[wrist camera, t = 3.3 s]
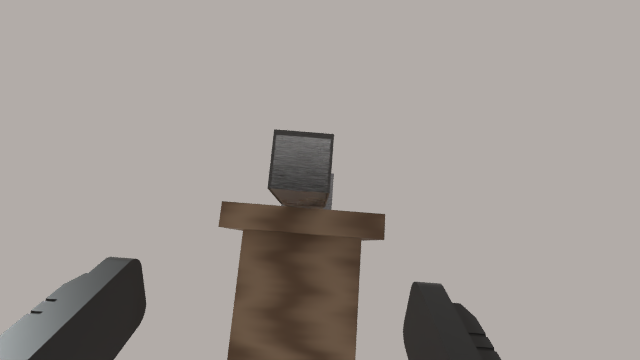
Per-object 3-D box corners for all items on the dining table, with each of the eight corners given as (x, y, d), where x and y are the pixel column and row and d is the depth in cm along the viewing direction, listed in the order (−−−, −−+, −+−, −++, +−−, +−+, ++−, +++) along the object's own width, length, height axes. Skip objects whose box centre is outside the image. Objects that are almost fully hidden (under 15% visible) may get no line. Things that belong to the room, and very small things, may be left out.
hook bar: (251, 187, 17) (261, 109, 18) (285, 217, 37) (289, 180, 38) (345, 194, 17) (350, 116, 18) (327, 220, 37) (330, 184, 38)
